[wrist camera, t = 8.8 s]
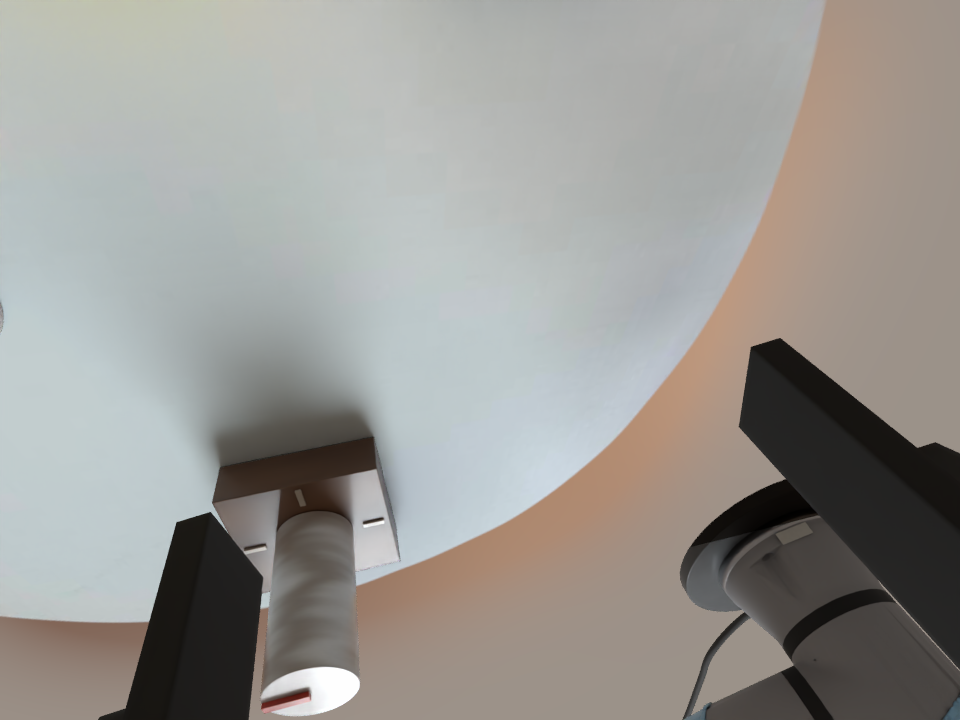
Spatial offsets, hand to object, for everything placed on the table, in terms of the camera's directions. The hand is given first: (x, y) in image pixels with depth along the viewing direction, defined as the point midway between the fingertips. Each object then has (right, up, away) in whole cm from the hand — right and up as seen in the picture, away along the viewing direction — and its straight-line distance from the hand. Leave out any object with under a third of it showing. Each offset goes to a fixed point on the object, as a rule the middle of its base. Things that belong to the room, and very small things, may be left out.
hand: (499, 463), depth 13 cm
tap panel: (-12, -8, +25) cm, 29 cm away
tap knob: (-11, -9, +23) cm, 27 cm away
